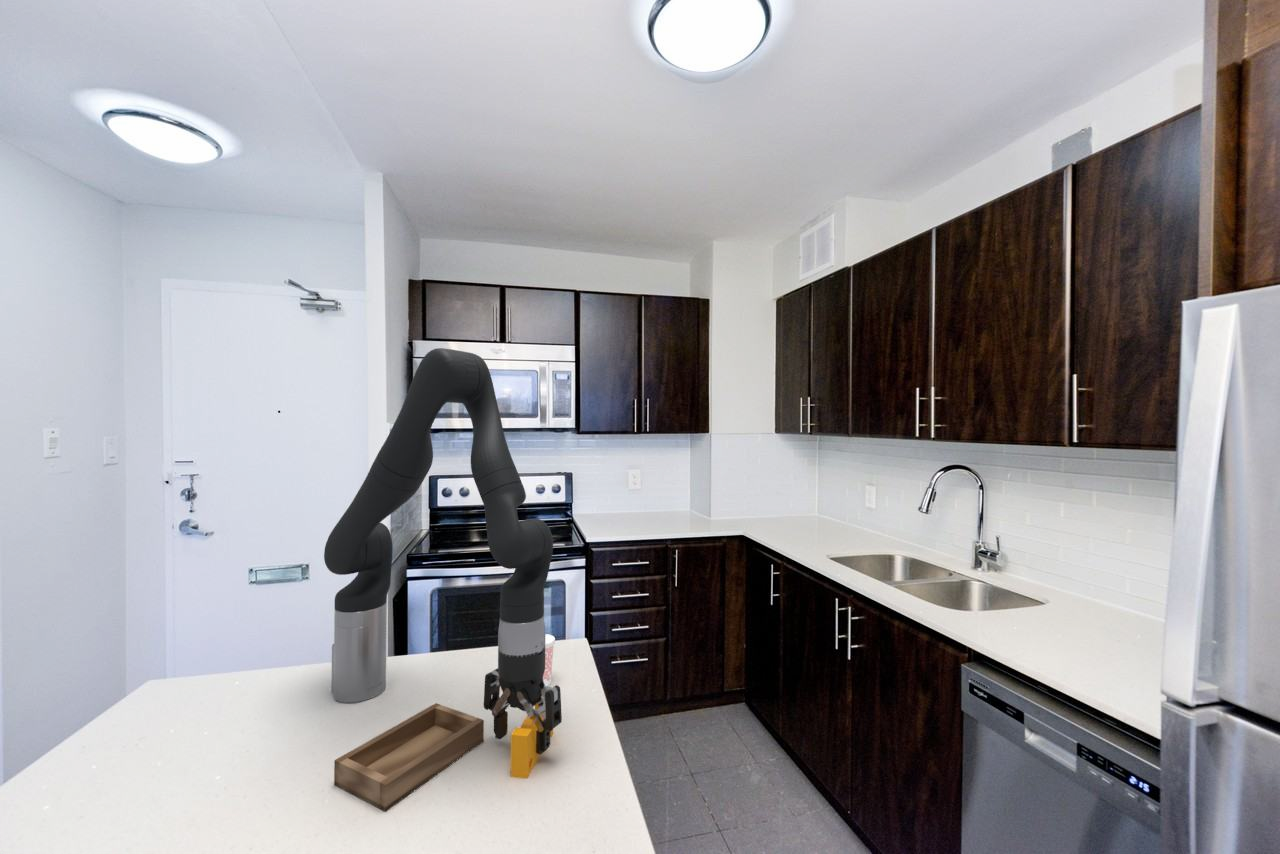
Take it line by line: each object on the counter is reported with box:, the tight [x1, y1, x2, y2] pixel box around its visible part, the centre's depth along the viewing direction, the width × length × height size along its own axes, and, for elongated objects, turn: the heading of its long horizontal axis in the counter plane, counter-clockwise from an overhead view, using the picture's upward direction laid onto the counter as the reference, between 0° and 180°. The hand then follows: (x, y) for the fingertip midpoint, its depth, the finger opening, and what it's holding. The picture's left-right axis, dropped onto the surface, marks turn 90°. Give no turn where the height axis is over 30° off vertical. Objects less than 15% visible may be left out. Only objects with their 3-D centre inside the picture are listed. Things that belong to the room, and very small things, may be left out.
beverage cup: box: [543, 633, 556, 687], centre depth 108 cm, size 6×6×14 cm
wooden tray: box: [333, 702, 485, 812], centre depth 82 cm, size 11×18×4 cm, turn 152°
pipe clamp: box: [510, 703, 554, 780], centre depth 85 cm, size 12×4×6 cm, turn 170°
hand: (521, 743), depth 85 cm, fingers open, 8 cm apart
